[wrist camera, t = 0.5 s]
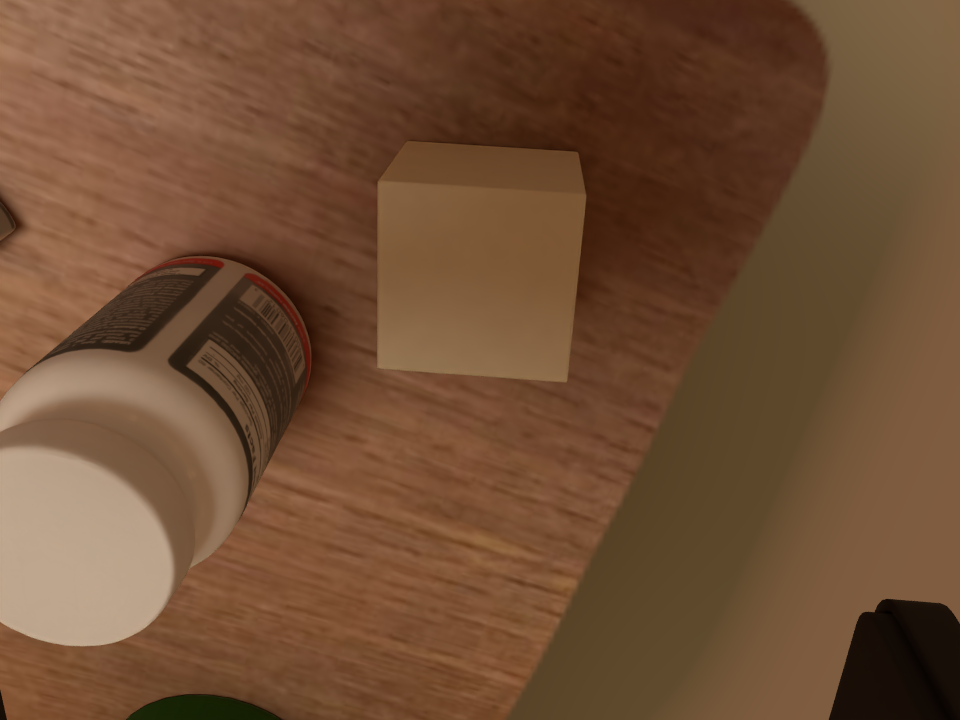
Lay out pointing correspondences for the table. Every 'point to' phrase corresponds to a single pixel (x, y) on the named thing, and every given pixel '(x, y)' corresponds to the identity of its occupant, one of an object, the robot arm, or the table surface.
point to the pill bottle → (142, 446)
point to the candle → (200, 709)
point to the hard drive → (5, 222)
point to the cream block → (478, 260)
